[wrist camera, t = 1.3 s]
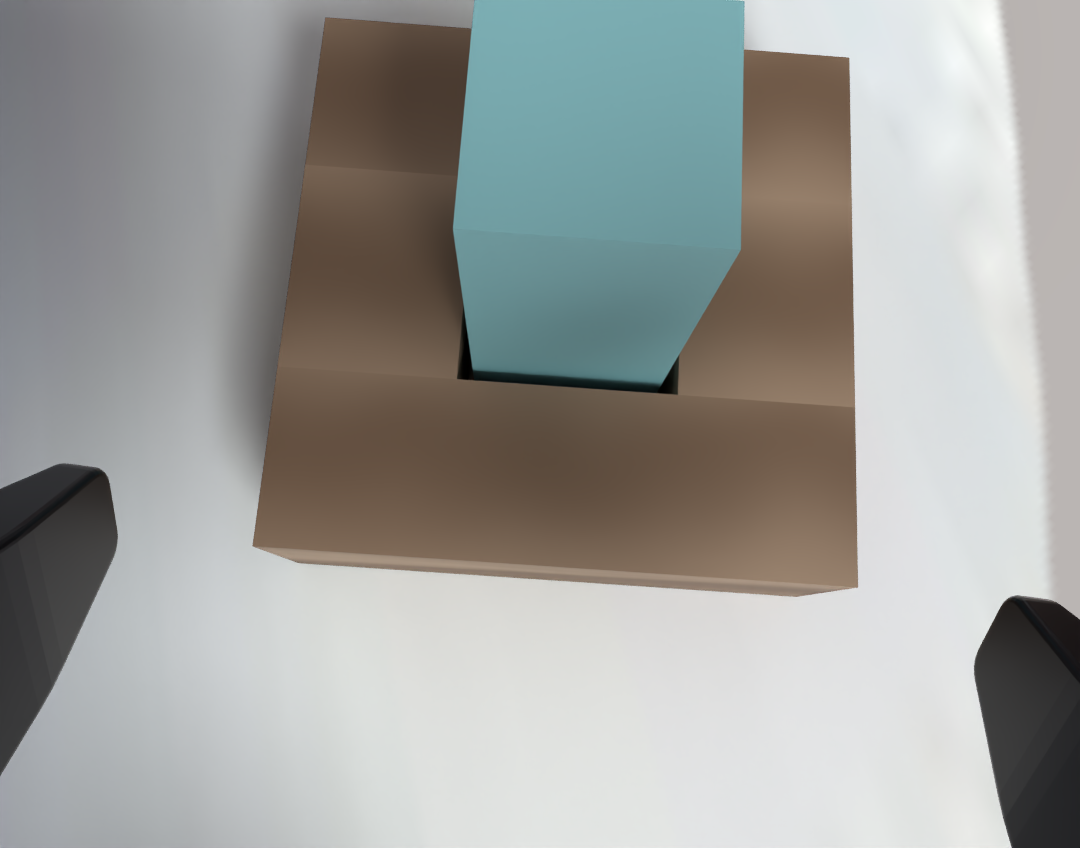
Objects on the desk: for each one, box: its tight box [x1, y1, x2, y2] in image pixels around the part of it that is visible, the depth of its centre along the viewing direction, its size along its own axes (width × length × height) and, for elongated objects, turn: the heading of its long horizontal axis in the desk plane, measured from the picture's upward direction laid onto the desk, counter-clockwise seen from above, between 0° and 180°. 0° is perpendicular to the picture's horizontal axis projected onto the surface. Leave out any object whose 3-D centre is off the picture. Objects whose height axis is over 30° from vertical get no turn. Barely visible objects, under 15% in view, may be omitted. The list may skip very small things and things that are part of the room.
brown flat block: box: [253, 17, 858, 597], centre depth 21 cm, size 12×12×4 cm
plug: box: [453, 0, 744, 393], centre depth 18 cm, size 4×4×10 cm
